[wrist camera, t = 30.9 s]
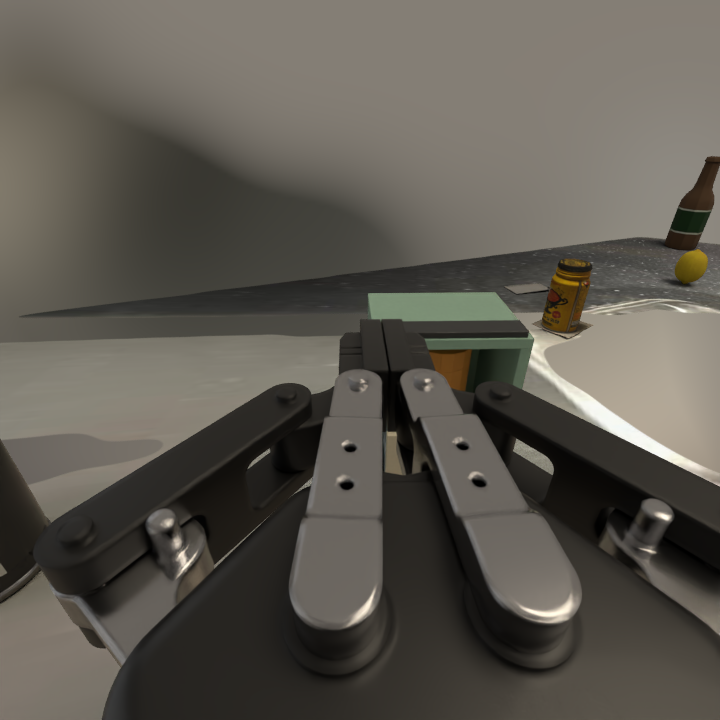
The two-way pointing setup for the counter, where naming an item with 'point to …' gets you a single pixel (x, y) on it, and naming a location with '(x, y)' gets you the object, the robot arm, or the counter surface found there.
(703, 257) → the lemon
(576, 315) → the condiment
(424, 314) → the green open box
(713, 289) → the counter surface
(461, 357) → the jar
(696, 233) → the beer bottle
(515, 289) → the cleaver
